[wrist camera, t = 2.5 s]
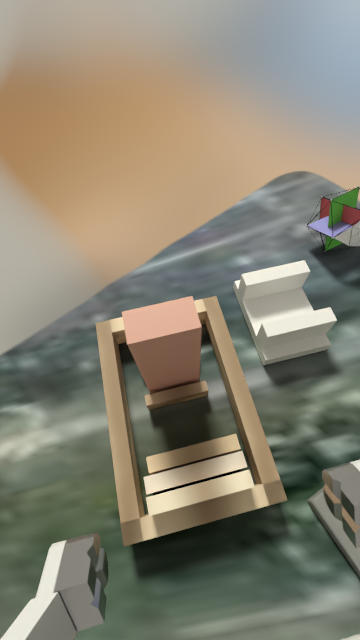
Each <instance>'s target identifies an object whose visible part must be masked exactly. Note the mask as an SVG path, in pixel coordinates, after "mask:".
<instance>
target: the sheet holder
mask: <svg viewBox="0 0 360 640" xmlns="http://www.w3.org/2000/svg"><path fill="white" fill-rule="evenodd" d="M309 273H310V270H309V268H308V266H307V264H306V262H305V260H303V261H299V262H294V263H290V264H285V265H281V266H276V267H272V268H267V269H263V270H258V271H254V272H249V273H245V274H242V275H241V280H238V281H235V282H234V287H233V289H234V292H235V294H236V297H237V300H238V302H239V305H240V307H241V310H242V312H243V315H244V318H245V320H246V323H247V325H248V328H249V331H250V333H251V336H252V338H253V341H254V344H255V346H256V349H257V351H258V354H259V356H260V359H261V362H262V364H263V365H267V364H271V363H275V362H279V361H283V360H287V359H291V358H295V357H300V356H304V355H308V354H312V353H316V352H320V351H324V350H326V349H327V348H328V347H329V346H330V345H331V343H330V342H329V340H328V338H327V336H326V333H327V331H328V330H329V329H330V328H331V327H332V326H333V325H334V323H335V322H336V321H337V319H336V317H335V315H334V314H333V312H332V310H331V308H330V307H329V308H325V309H320V310H316V311H314V310H313V308H312V307H311V305H310V303H309V301H308V299H307V297H306V295H305V293H304V291H303V289H302V286H303V284H304V282H305V280H306V278H307V277H308V275H309Z"/></svg>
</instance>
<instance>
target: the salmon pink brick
mask: <svg viewBox="0 0 360 640" xmlns="http://www.w3.org/2000/svg"><path fill="white" fill-rule="evenodd" d="M122 317H123V323H124V329H125V335H126V340H127V345H128V347H129V349H130V351H131V353H132V356H133V358H134V360H135V362H136V364H137V366H138V368H139V370H140V372H141V375H142V377H143V379H144V381H145V383H146V385H147V387H148V389H149V391H150V393H151V394H153V393H157V392H161V391H165V390H169V389H173V388H177V387H181V386H185V385H189V384H193V383H197V382H199V375H200V354H201V332H202V326H201V323H200V320H199V316H198V313H197V310H196V307H195V303H194V300H193V297H192V296H190V297H186V298H181V299H177V300H173V301H168V302H164V303H159V304H155V305H150V306H146V307H142V308H137V309H133V310H128V311H124V312H122Z"/></svg>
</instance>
